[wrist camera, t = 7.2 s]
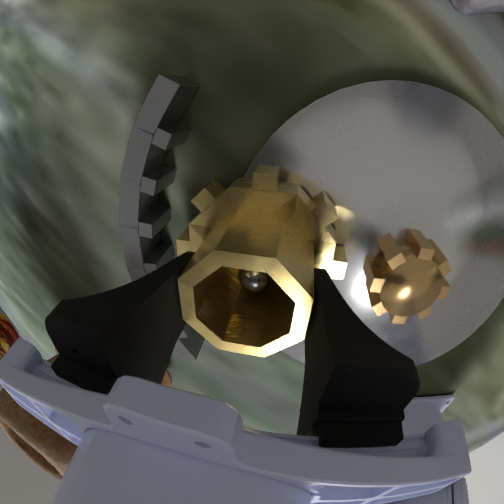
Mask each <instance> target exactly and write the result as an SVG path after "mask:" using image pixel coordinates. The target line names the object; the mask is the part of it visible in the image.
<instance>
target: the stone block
mask: <svg viewBox="0 0 504 504" xmlns="http://www.w3.org/2000/svg"><path fill="white" fill-rule="evenodd" d="M450 1H451V3H452V4H453V6H454V7H455V9H456V10H457V11H459V12H461V13H463V14H468V15H469V14H479V13H495V12H504V0H450Z"/></svg>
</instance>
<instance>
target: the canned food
mask: <svg viewBox="0 0 504 504" xmlns="http://www.w3.org/2000/svg"><path fill="white" fill-rule="evenodd" d="M18 338H21V336H20V334H19V332H18V331H17V329H16V328H15V326H14V325H13V324H12V322H11V321H10V320H9V319H8V317H7V316H6V315H5V314H4V313H3V312H2V311H1V310H0V360H1V359H2V358H3V356H4V355H5V354H6V353H7V351H8V350H9V349H10V348H11V346H12V345H13V344H14V343H15V342H16V341H17V339H18Z"/></svg>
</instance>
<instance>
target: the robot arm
mask: <svg viewBox="0 0 504 504" xmlns="http://www.w3.org/2000/svg"><path fill="white" fill-rule="evenodd" d="M194 254H195V252H190V251H187V252H185V253H183V254H181V255H180V256H178V257H176V258H175V259H173V260H171V261H170V262H168V263H166V264H165V265H163V266H161V267H160V268H158V269H156V270H154V271H152V272H151V273H149V274H147V275H145V276H143V277H141V278H139V279H137V280H135V281H133V282H131V283H128V284H126V285H123V286H121V287H118V288H115V289H112V290H109V291H106V292H103V293H99V294H95V295H91V296H87V297H82V298H75V299H69V300H62V301H61V302H60V303H59V304H58V305H57V306H56V307H55V308H54V309H53V311H52V312H51V313H50V314H49V315H48V316H47V317H46V319H45V325H46V330H47V332H48V334H49V336H50V338H51V340H52V342H53V344H54V346H55V347H56V349H57V351H58V353H59V355H58V357H57V358H56V360H55V361H54V362H53V364H51V363H50V362H48V361H46V360H44V359H42V356H41V354H40V353H39V351H38V350H37V348H36V347H35V346H33V345H32V344H30V343H29V342H27V341H25V340H23V339H22V338H18V339H17V341H16V342H15V343H14V344H13V345H12V346H11V348H10V349H9V350H8V351H7V353H6V354H5V355H4V356H3V358H2V359H1V360H0V383H1V385H2V386H3V387H4V388H5V390H6V391H7V392H8V393H9V394H10V395H11V397H12V398H13V399H14V400H15V401H16V402H17V403H18V404H19V405H20V406H21V407H23V408H24V409H25V410H27V411H28V412H29V413H31V414H32V415H33V416H35V417H36V418H38V419H39V420H40V421H42V422H43V423H44V424H46V425H47V426H49V427H50V428H51V429H53V430H54V431H56V432H57V433H59V434H60V435H62V436H63V437H65V438H66V439H68V440H69V441H71V442H72V443H74V444H76V445H77V446H78V447H77V449H76V451H75V453H74V455H73V457H72V459H71V461H70V463H69V465H68V467H67V469H66V471H65V473H64V475H63V477H62V480H61V482H60V484H59V486H58V488H57V490H56V492H55V494H54V497H53V499H52V501H51V503H50V504H469V500H468V490H467V484H466V479H465V478H463V477H464V476H466V475H467V474H469V473H470V472H471V465H470V459H469V453H468V448H467V443H466V438H465V433H464V429H463V425H462V421H461V419H457V420H451V421H444V422H443V420H442V416H441V412H442V411H443V410H444V409H445V408H446V407H447V406H448V405H449V404H450V403H451V402H452V401H453V400H454V395H443V396H431V397H416V398H414V397H415V396H416V394H417V392H418V391H419V388H420V381H419V377H418V373H417V369H416V366H415V364H414V361H413V360H412V359H411V358H409V357H407V356H406V355H404V354H402V353H401V352H399V351H397V350H396V349H394V348H393V347H392V346H390V345H389V344H387V343H386V342H385V341H383V340H382V339H381V338H380V337H378V336H377V335H376V334H375V333H374V332H373V331H372V330H371V329H369V328H368V327H367V326H366V325H365V324H364V323H363V322H362V320H361V319H360V318H359V317H358V316H357V315H356V314H355V313H354V312H353V310H352V309H351V308H350V306H349V305H348V304H347V302H346V301H345V300H344V298H343V297H342V295H341V294H340V292H339V290H338V289H337V287H336V286H335V284H334V282H333V281H332V279H331V277H330V275H329V273H328V272H327V270H326V269H320V268H314V300H313V305H312V309H311V313H310V317H309V321H308V325H307V329H306V333H305V337H304V343H305V373H304V384H303V393H302V401H301V409H300V416H299V423H298V429H297V435H291V434H281V433H273V432H265V431H258V430H252V429H246V428H242V423H243V419H242V418H241V416H240V414H239V412H238V411H237V410H236V409H235V408H233V407H232V406H230V405H229V404H227V403H226V402H224V401H221V400H218V399H215V398H212V397H209V396H205V395H200V394H196V393H192V392H188V391H184V390H180V389H176V388H172V387H169V386H165V385H162V381H163V377H164V374H165V371H166V369H167V366H168V363H169V360H170V357H171V355H172V352H173V349H174V347H175V345H176V342H177V340H178V338H179V336H180V334H181V333H182V331H183V329H184V327H185V325H186V323H187V322H186V321H185V320H183V316H182V309H181V302H180V294H179V286H178V277H179V276H180V274H181V273H182V271H183V270H184V268H185V267H186V265H187V264H188V263H189V261H190V260H191V258H192V257H193V255H194Z"/></svg>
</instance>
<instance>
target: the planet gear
mask: <svg viewBox="0 0 504 504" xmlns="http://www.w3.org/2000/svg"><path fill="white" fill-rule="evenodd" d="M279 173H280V167H279V166H269V165H258V166H257V168H256V169H255V170H254V172H253V179H249V178H238V179H237V180H235V181H234V182H233V183H232V184H231V185H230V186H229V187H227V188H226V189H225V188H224V187H223V186H222V185H221V184H220V183H219V182H218V181H217V180H216V179H214V180H213V181H212V182H211V183H209V184H208V185H207V186H206V187H205V188H204V189H203V190H202V191H201V192H200V193H199V194H197V195H196V196H195V197H194V198H193V199H192V200H191V202H192V203H193V204H194V205H195V206H196V207H197V208H198V209H199V210H200V212H199V213H198V215H197V216H196V217H195V218H194V219H193V220H192V221H191V222H190V223H189V226H188V227H187V228H186V229H185V230H184V231H183V232H182V234H181V235H180V236H179V237H178V238H177V239H176V242H177V253H178V256H180V255H181V254H183V253H185V252H187V251H190V252H195V254H194V255H193V257H192V258H191V260H190V261H189V263H188V264H187V265H186V267H185V268H184V270H183V271H182V273H181V274H180V276H179V277H178V286H179V294H180V302H181V309H182V316H183V320H185V321H186V322H187V323H188V324H189V325H190V326H191V327H192V328H194V329H195V330H196V331H197V332H198V333H199V334H201V335H202V336H203V337H204V338H205V339H206V340H208V341H209V342H210V343H211V344H212V345H214V346H215V347H216V348H217V349H221V350H226V351H231V352H237V353H242V354H248V355H254V356H260V357H266V356H268V355H271V354H273V353H275V352H278V351H280V350H282V349H284V348H287V347H289V346H291V345H293V344H296V343H298V342H300V341H302V340H304V337H305V333H306V329H307V325H308V321H309V317H310V313H311V309H312V305H313V300H314V268H320V269H326V270H327V272H328V273H329V275H330V277H331V278H332V279H340V280H343V278H344V274H345V270H346V267H347V258H346V253H345V248H344V247H342V246H336V239H335V233H334V228H333V227H332V226H331V223H332V222H333V221H335V220H336V219H338V216H337V212H336V208H335V205H334V204H333V203H332V201H331V200H330V199H329V197H328V196H327V195H326V194H325V192H324V191H323V190H322V191H321V192H320V193H318V194H317V195H315V196H314V197H313V198H311V199H310V198H309V196H308V195H307V194H306V193H305V191H304V190H303V189H302V188H301V186H300V185H299V184H294V183H286V182H279ZM239 269H244V270H250V271H257V272H264V273H268V274H269V275H270V276H271V277H272V281H271V283H270V285H269V286H268V288H267V289H265V290H264V291H261V292H257V293H253V292H249V291H247V290H245V289H244V288H243V287H242V286H241V285H240V283H239V280H238V271H239Z"/></svg>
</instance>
